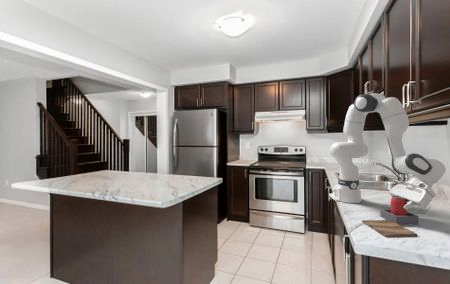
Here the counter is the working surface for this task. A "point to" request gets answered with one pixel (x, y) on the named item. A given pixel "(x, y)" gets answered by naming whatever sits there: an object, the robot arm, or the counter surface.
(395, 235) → the walnut board
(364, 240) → the counter surface
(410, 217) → the can collar
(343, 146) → the robot arm
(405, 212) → the beer can
